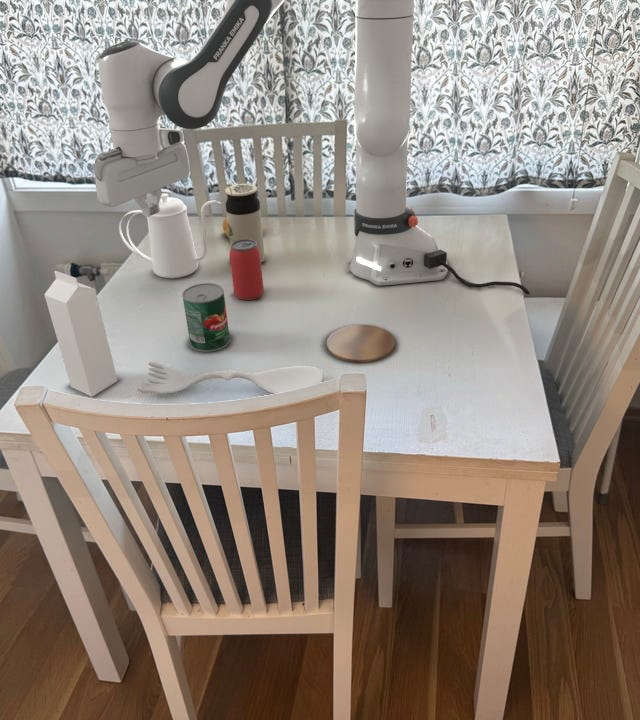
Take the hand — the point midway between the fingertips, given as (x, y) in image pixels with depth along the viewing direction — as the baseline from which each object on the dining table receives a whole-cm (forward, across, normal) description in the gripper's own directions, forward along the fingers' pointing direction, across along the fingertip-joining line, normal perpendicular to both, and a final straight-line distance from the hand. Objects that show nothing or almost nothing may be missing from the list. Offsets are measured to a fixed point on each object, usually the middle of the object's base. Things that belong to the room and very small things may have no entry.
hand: (151, 214), depth 130 cm
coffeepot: (+23, +18, +17) cm, 34 cm away
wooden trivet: (+24, +13, -39) cm, 47 cm away
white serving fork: (+24, -12, -28) cm, 39 cm away
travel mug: (+23, +31, +6) cm, 39 cm away
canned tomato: (+23, -2, -14) cm, 27 cm away
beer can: (+23, +17, -7) cm, 30 cm away
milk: (+23, -25, -6) cm, 34 cm away
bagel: (+23, +43, +18) cm, 52 cm away
